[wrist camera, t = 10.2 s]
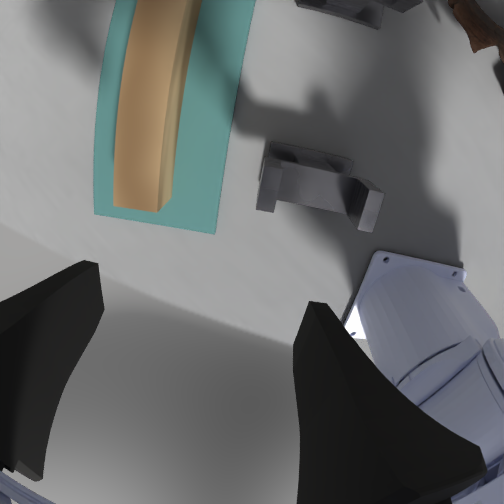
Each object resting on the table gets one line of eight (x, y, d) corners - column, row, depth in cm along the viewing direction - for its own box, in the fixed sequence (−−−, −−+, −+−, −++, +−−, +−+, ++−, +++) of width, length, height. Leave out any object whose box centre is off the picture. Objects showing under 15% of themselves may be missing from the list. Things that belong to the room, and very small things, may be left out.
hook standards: (386, -5, 11) (423, -33, 6) (343, 204, 18) (368, 242, 13) (300, -30, 11) (311, -73, 6) (257, 187, 18) (253, 219, 13)
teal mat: (272, -70, 9) (273, -73, 9) (215, 231, 20) (214, 234, 19) (142, -67, 9) (140, -70, 9) (96, 212, 19) (94, 214, 19)
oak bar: (218, -58, 10) (211, -79, 7) (171, 197, 18) (157, 212, 16) (176, -57, 10) (163, -75, 7) (132, 191, 18) (113, 206, 16)
